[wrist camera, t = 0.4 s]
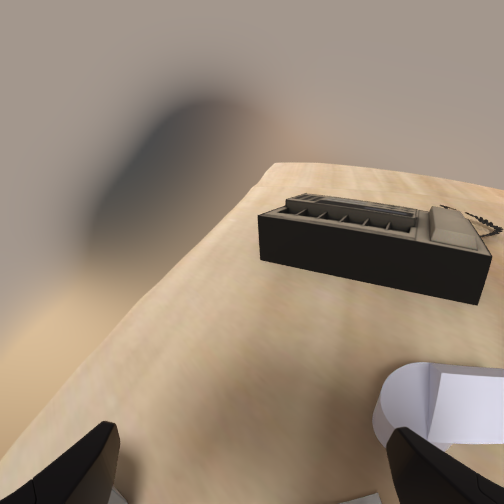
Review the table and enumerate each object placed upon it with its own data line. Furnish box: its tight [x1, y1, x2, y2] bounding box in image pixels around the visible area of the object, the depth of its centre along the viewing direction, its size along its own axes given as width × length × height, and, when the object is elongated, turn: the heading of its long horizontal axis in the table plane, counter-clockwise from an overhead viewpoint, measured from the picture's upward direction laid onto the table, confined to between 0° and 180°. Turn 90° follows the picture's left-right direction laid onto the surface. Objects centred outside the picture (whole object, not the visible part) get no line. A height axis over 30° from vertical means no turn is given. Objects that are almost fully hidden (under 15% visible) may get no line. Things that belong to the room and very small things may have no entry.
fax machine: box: [258, 193, 503, 305], centre depth 53 cm, size 45×34×10 cm
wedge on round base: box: [372, 362, 504, 452], centre depth 21 cm, size 9×7×13 cm
